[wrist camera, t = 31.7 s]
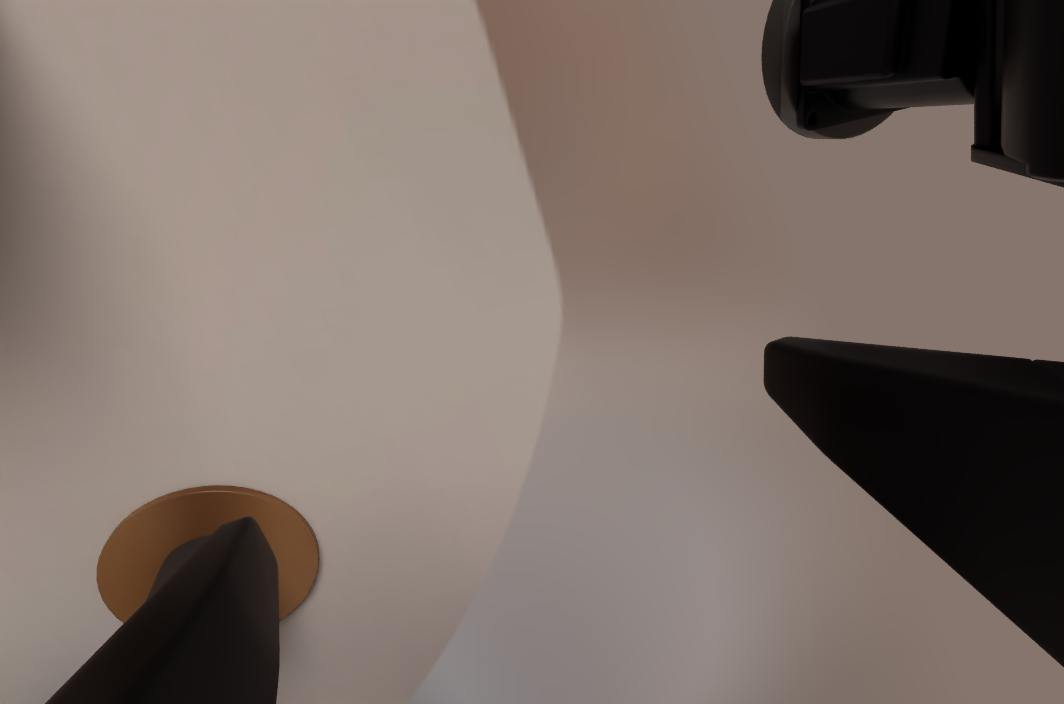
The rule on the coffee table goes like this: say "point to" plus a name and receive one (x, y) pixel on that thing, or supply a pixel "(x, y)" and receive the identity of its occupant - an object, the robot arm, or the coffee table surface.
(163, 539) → the coaster
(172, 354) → the coffee table surface
